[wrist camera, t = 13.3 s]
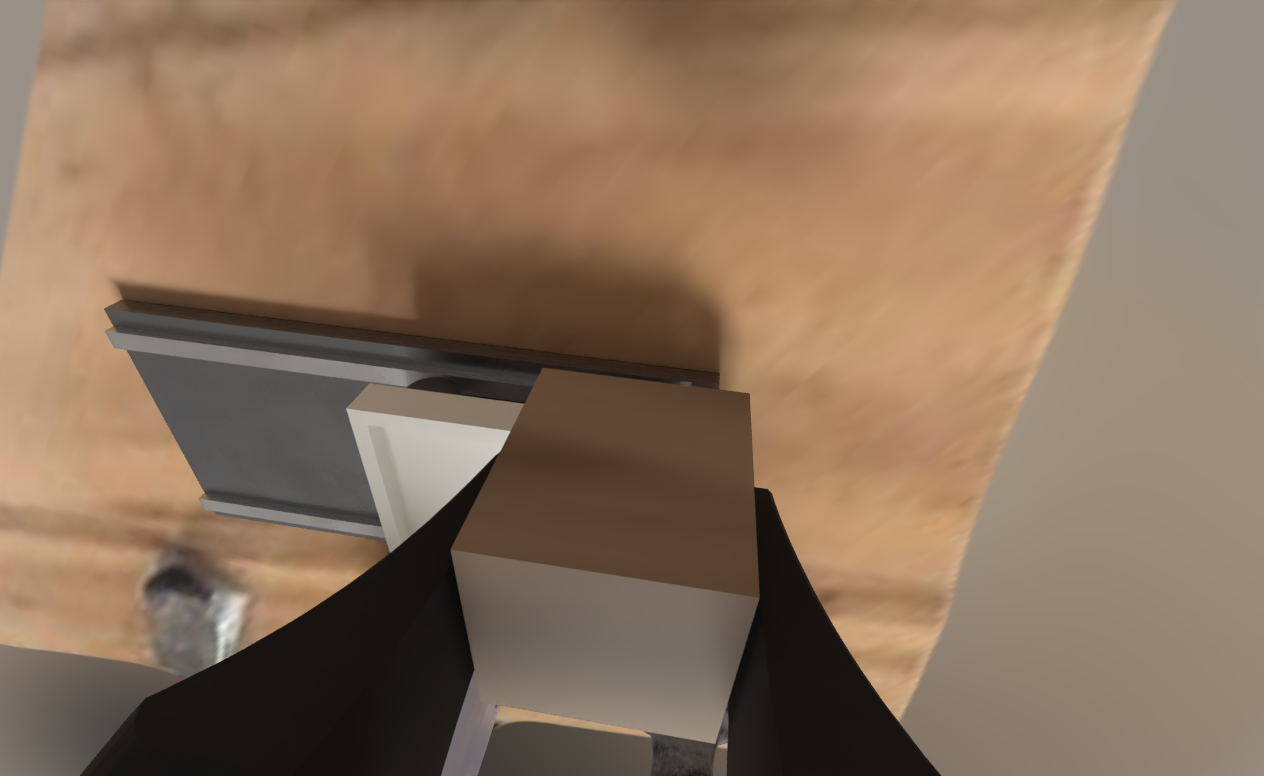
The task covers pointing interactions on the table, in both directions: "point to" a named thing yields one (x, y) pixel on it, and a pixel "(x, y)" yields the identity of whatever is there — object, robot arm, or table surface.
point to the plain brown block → (615, 555)
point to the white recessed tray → (424, 447)
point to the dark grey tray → (308, 402)
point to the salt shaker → (685, 753)
